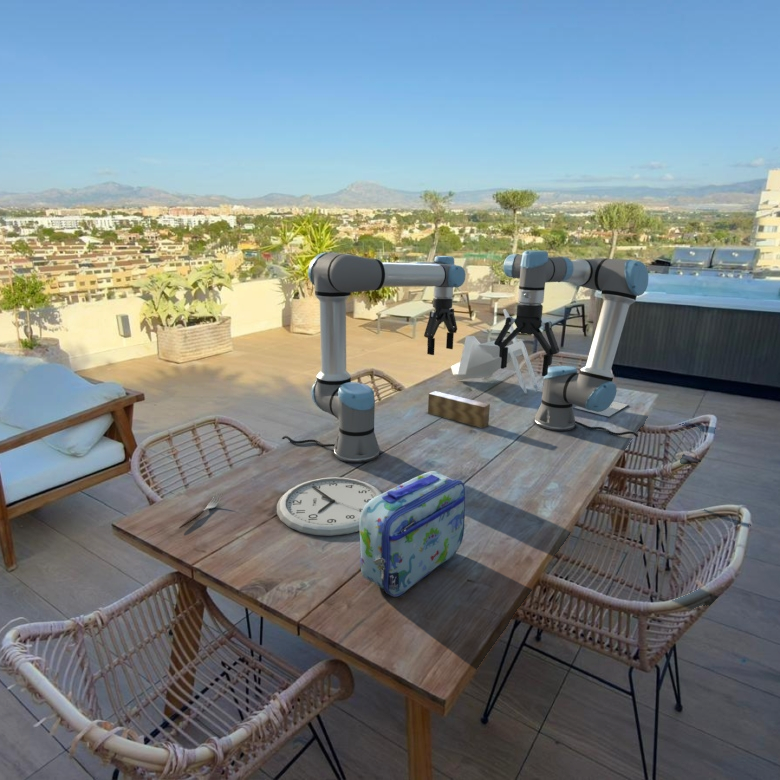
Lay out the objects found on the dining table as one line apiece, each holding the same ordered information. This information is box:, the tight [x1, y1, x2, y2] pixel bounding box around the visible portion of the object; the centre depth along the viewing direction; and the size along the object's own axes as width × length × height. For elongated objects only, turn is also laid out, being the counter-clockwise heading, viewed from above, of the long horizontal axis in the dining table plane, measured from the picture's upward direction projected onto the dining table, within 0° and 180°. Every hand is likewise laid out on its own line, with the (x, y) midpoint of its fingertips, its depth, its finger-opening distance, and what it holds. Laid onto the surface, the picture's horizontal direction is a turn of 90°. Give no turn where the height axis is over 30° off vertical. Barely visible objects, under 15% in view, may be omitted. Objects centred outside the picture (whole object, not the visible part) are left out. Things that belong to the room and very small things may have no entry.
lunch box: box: [358, 470, 466, 598], centre depth 113 cm, size 26×11×21 cm, turn 135°
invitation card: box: [573, 400, 629, 418], centre depth 226 cm, size 21×1×15 cm
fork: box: [178, 493, 223, 529], centre depth 137 cm, size 3×16×2 cm, turn 160°
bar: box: [427, 390, 491, 429], centre depth 208 cm, size 25×5×8 cm, turn 52°
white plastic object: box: [450, 308, 540, 394], centre depth 253 cm, size 37×45×31 cm
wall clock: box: [276, 476, 384, 537], centre depth 142 cm, size 30×2×30 cm
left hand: (440, 351), depth 207 cm, fingers open, 13 cm apart
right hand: (523, 371), depth 164 cm, fingers open, 13 cm apart
